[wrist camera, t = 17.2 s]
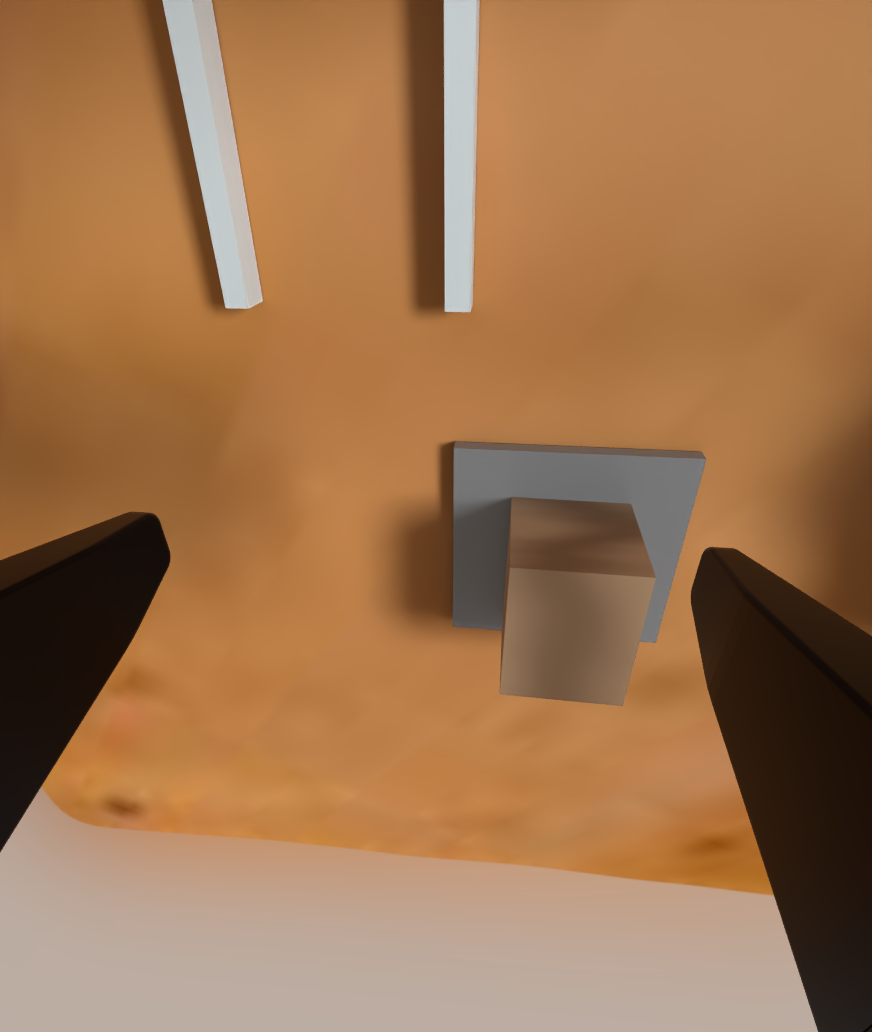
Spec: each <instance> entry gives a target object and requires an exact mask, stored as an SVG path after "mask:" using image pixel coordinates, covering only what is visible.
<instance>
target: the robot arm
mask: <svg viewBox="0 0 872 1032" xmlns="http://www.w3.org/2000/svg"><path fill="white" fill-rule="evenodd" d="M169 563H170V550H169V547H168V544H167V541H166V538H165V535H164V532H163V529H162V526H161V523H160V521H159V519H158V517H157V516H156V515H154V514H153V513H145V512H128V513H125V514H122V515H120V516H117V517H114V518H112V519H109V520H107V521H104V522H101V523H99V524H96V525H93V526H91V527H88V528H85V529H83V530H80V531H77V532H75V533H72V534H69V535H67V536H64V537H61V538H59V539H56V540H53V541H51V542H48V543H45V544H43V545H40V546H37V547H35V548H32V549H29V550H27V551H24V552H21V553H19V554H16V555H14V556H11V557H8V558H6V559H3V560H0V852H1V850H2V849H3V847H4V846H5V844H6V842H7V841H8V839H9V838H10V836H11V834H12V833H13V831H14V829H15V828H16V826H17V825H18V823H19V821H20V820H21V818H22V817H23V815H24V813H25V812H26V810H27V809H28V807H29V805H30V804H31V802H32V801H33V799H34V797H35V796H36V794H37V792H38V791H39V789H40V788H41V786H42V785H43V783H44V781H45V780H46V778H47V777H48V775H49V773H50V772H51V770H52V769H53V767H54V765H55V764H56V762H57V761H58V759H59V757H60V756H61V754H62V753H63V751H64V749H65V748H66V746H67V745H68V743H69V741H70V740H71V738H72V736H73V735H74V733H75V732H76V730H77V728H78V727H79V725H80V724H81V722H82V720H83V719H84V717H85V716H86V714H87V712H88V711H89V709H90V708H91V706H92V704H93V703H94V701H95V700H96V698H97V696H98V695H99V693H100V692H101V690H102V688H103V687H104V685H105V684H106V682H107V680H108V679H109V677H110V676H111V674H112V672H113V671H114V669H115V668H116V666H117V664H118V663H119V661H120V660H121V658H122V656H123V655H124V653H125V652H126V650H127V648H128V646H129V645H130V643H131V641H132V640H133V638H134V636H135V634H136V632H137V630H138V628H139V626H140V624H141V622H142V620H143V618H144V616H145V614H146V612H147V610H148V608H149V606H150V604H151V602H152V600H153V598H154V596H155V593H156V591H157V589H158V587H159V585H160V583H161V581H162V579H163V577H164V575H165V573H166V571H167V569H168V567H169ZM691 606H692V611H693V616H694V621H695V627H696V632H697V637H698V642H699V648H700V653H701V658H702V663H703V669H704V674H705V678H706V683H707V688H708V691H709V695H710V698H711V702H712V705H713V708H714V711H715V714H716V717H717V721H718V724H719V727H720V730H721V733H722V736H723V739H724V742H725V745H726V748H727V751H728V755H729V758H730V761H731V764H732V767H733V770H734V773H735V776H736V779H737V782H738V785H739V789H740V792H741V795H742V798H743V801H744V804H745V807H746V810H747V813H748V816H749V819H750V823H751V826H752V829H753V832H754V835H755V838H756V841H757V844H758V847H759V850H760V853H761V857H762V860H763V863H764V866H765V869H766V872H767V875H768V878H769V881H770V884H771V887H772V891H773V894H774V897H775V900H776V903H777V906H778V909H779V912H780V915H781V918H782V921H783V925H784V928H785V931H786V934H787V937H788V940H789V943H790V946H791V949H792V952H793V955H794V958H795V961H796V965H797V968H798V971H799V974H800V977H801V980H802V983H803V986H804V989H805V992H806V995H807V999H808V1002H809V1005H810V1008H811V1011H812V1014H813V1017H814V1020H815V1023H816V1026H817V1030H818V1032H872V636H871V635H869V634H868V633H866V632H864V631H863V630H861V629H860V628H858V627H857V626H855V625H853V624H852V623H850V622H849V621H847V620H846V619H844V618H843V617H841V616H839V615H838V614H836V613H835V612H833V611H832V610H830V609H829V608H827V607H825V606H824V605H822V604H821V603H819V602H818V601H816V600H815V599H813V598H811V597H810V596H808V595H807V594H805V593H804V592H802V591H801V590H799V589H797V588H796V587H794V586H793V585H791V584H790V583H788V582H787V581H785V580H783V579H782V578H780V577H779V576H777V575H776V574H774V573H773V572H771V571H769V570H768V569H766V568H765V567H763V566H762V565H760V564H759V563H757V562H755V561H754V560H752V559H751V558H749V557H748V556H746V555H745V554H743V553H741V552H740V551H738V550H736V549H733V548H719V547H709V548H707V549H706V550H705V551H704V552H703V554H702V557H701V560H700V563H699V566H698V570H697V573H696V576H695V579H694V583H693V586H692V590H691Z"/></svg>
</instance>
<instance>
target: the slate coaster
mask: <svg viewBox="0 0 872 1032" xmlns="http://www.w3.org/2000/svg"><path fill="white" fill-rule="evenodd" d="M705 462H706V458H705V456H704V455H703V453H702V452H695V451H671V450H647V449H623V448H600V447H576V446H552V445H528V444H504V443H481V442H457V441H455V445H454V492H453V626H454V627H466V628H479V629H491V630H502V617H503V602H504V589H505V575H506V562H507V549H508V536H509V523H510V509H511V497H521V498H538V499H556V500H574V501H592V502H609V503H627V504H631V505H632V508H633V511H634V514H635V517H636V520H637V523H638V526H639V529H640V531H641V534H642V537H643V540H644V543H645V546H646V549H647V552H648V555H649V558H650V561H651V564H652V567H653V570H654V573H655V576H656V580H655V584H654V588H653V592H652V596H651V599H650V603H649V607H648V611H647V615H646V618H645V622H644V626H643V630H642V634H641V638H640V641H641V642H653V643H655V642H656V639H657V635H658V632H659V628H660V624H661V621H662V617H663V614H664V610H665V606H666V603H667V599H668V596H669V592H670V588H671V585H672V581H673V578H674V574H675V570H676V567H677V563H678V560H679V556H680V552H681V549H682V545H683V542H684V538H685V534H686V531H687V527H688V523H689V520H690V516H691V513H692V509H693V505H694V502H695V498H696V495H697V491H698V487H699V484H700V480H701V477H702V473H703V469H704V466H705Z"/></svg>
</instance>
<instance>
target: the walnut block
mask: <svg viewBox="0 0 872 1032" xmlns="http://www.w3.org/2000/svg"><path fill="white" fill-rule="evenodd" d="M655 580H656V576H655V573H654V570H653V567H652V564H651V561H650V558H649V555H648V552H647V549H646V546H645V543H644V540H643V537H642V534H641V531H640V529H639V526H638V523H637V520H636V517H635V514H634V511H633V508H632V505H631V504H627V503H609V502H592V501H574V500H556V499H538V498H521V497H511V509H510V523H509V536H508V549H507V562H506V575H505V589H504V602H503V617H502V645H501V673H500V694H503V695H513V696H523V697H534V698H544V699H555V700H565V701H575V702H586V703H596V704H607V705H617V706H623V702H624V699H625V695H626V691H627V687H628V683H629V680H630V676H631V672H632V668H633V664H634V660H635V657H636V653H637V649H638V645H639V641H640V638H641V634H642V630H643V626H644V622H645V618H646V615H647V611H648V607H649V603H650V599H651V596H652V592H653V588H654V584H655Z"/></svg>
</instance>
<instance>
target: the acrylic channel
mask: <svg viewBox="0 0 872 1032" xmlns="http://www.w3.org/2000/svg"><path fill="white" fill-rule="evenodd" d="M162 1H163V6H164V11H165V16H166V20H167V25H168V30H169V35H170V40H171V45H172V50H173V54H174V59H175V64H176V69H177V74H178V79H179V84H180V88H181V93H182V98H183V103H184V108H185V113H186V118H187V122H188V127H189V132H190V137H191V142H192V147H193V152H194V156H195V161H196V166H197V171H198V176H199V181H200V186H201V190H202V195H203V200H204V205H205V210H206V215H207V220H208V224H209V229H210V234H211V239H212V244H213V249H214V254H215V258H216V263H217V268H218V273H219V278H220V283H221V288H222V292H223V297H224V302H225V307H226V308H241V309H249V308H251V307H253V306H255V305H257V304H259V303H261V302H263V298H262V293H261V287H260V281H259V275H258V269H257V263H256V257H255V251H254V246H253V240H252V234H251V228H250V222H249V216H248V210H247V204H246V199H245V193H244V187H243V181H242V175H241V169H240V163H239V157H238V152H237V146H236V140H235V134H234V128H233V122H232V116H231V110H230V105H229V99H228V93H227V87H226V81H225V75H224V69H223V63H222V58H221V52H220V46H219V40H218V34H217V28H216V22H215V16H214V11H213V5H212V0H162ZM479 8H480V0H444V199H445V312H470V311H471V308H472V305H473V273H474V229H475V185H476V141H477V96H478V52H479Z"/></svg>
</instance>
